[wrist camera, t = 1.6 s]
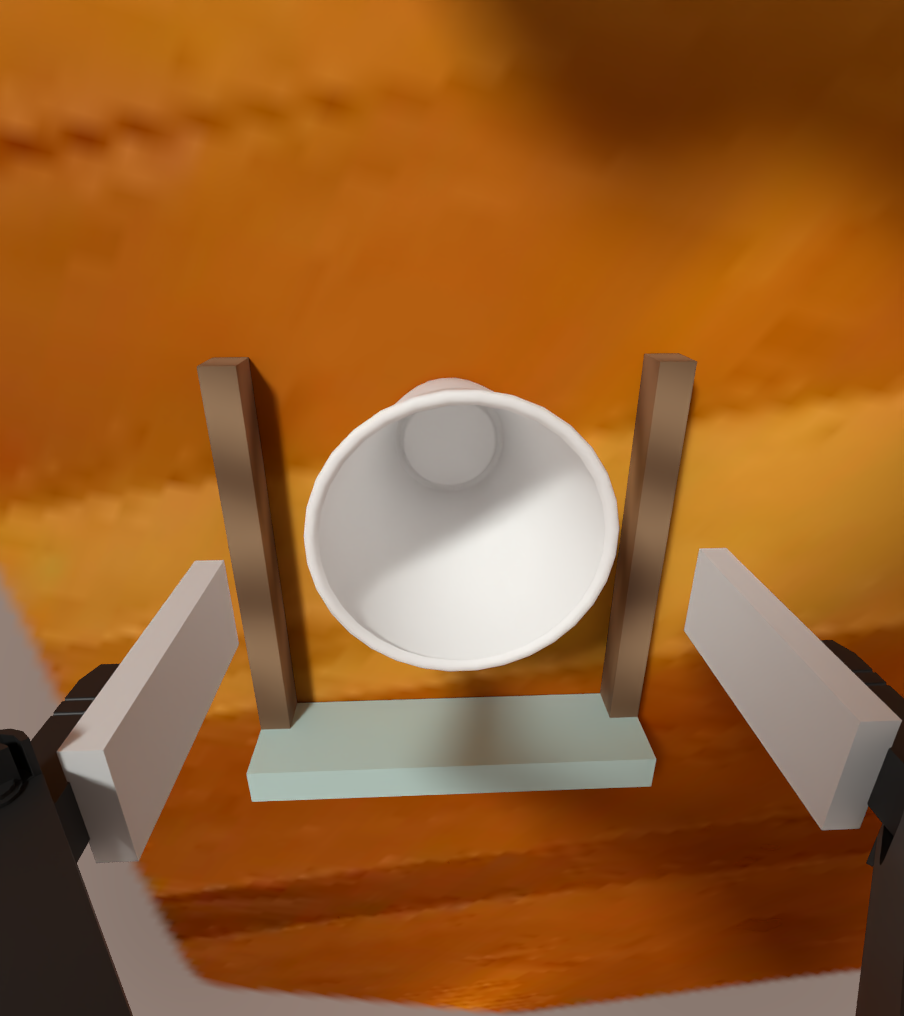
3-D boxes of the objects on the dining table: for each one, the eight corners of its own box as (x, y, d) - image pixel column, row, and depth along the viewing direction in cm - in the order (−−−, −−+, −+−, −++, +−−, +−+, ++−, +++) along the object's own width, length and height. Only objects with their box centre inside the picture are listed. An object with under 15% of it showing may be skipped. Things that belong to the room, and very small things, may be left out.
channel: (212, 357, 26) (196, 366, 25) (678, 353, 27) (696, 361, 25) (274, 729, 36) (266, 756, 34) (622, 717, 36) (633, 743, 35)
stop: (269, 703, 35) (246, 773, 30) (626, 692, 36) (656, 759, 31) (274, 729, 36) (252, 801, 31) (622, 717, 36) (651, 786, 32)
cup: (489, 560, 31) (519, 709, 21) (313, 482, 29) (256, 609, 19) (590, 395, 28) (684, 481, 18) (400, 292, 26) (386, 326, 16)
